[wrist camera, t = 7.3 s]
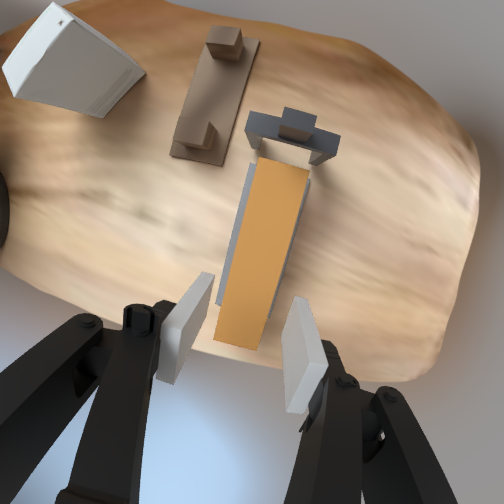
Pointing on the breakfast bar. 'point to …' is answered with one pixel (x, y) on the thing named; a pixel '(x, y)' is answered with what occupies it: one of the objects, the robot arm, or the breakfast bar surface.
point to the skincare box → (69, 65)
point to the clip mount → (236, 233)
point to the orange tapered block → (260, 252)
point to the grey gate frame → (293, 133)
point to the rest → (214, 96)
